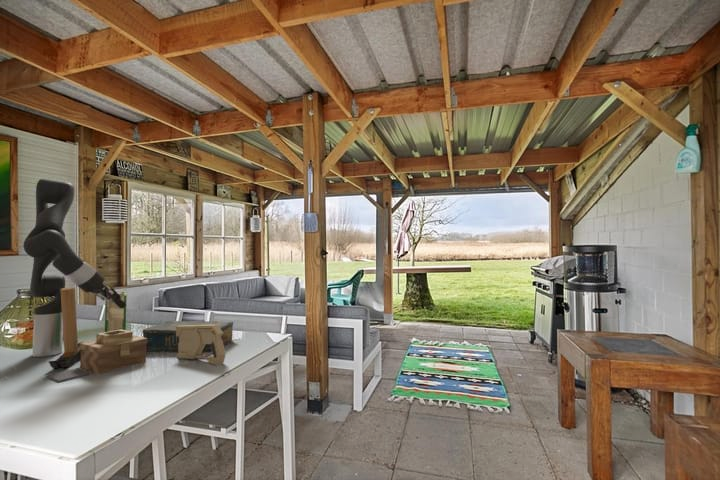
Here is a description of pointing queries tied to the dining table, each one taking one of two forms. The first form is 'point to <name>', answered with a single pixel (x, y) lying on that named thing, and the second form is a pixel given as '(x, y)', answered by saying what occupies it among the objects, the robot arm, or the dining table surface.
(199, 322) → the metal box
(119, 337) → the stacked wooden tiers
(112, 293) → the robot arm
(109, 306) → the wooden block
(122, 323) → the hardback book
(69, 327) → the hammer
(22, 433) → the dining table surface
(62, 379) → the rubber mat
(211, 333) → the gun
